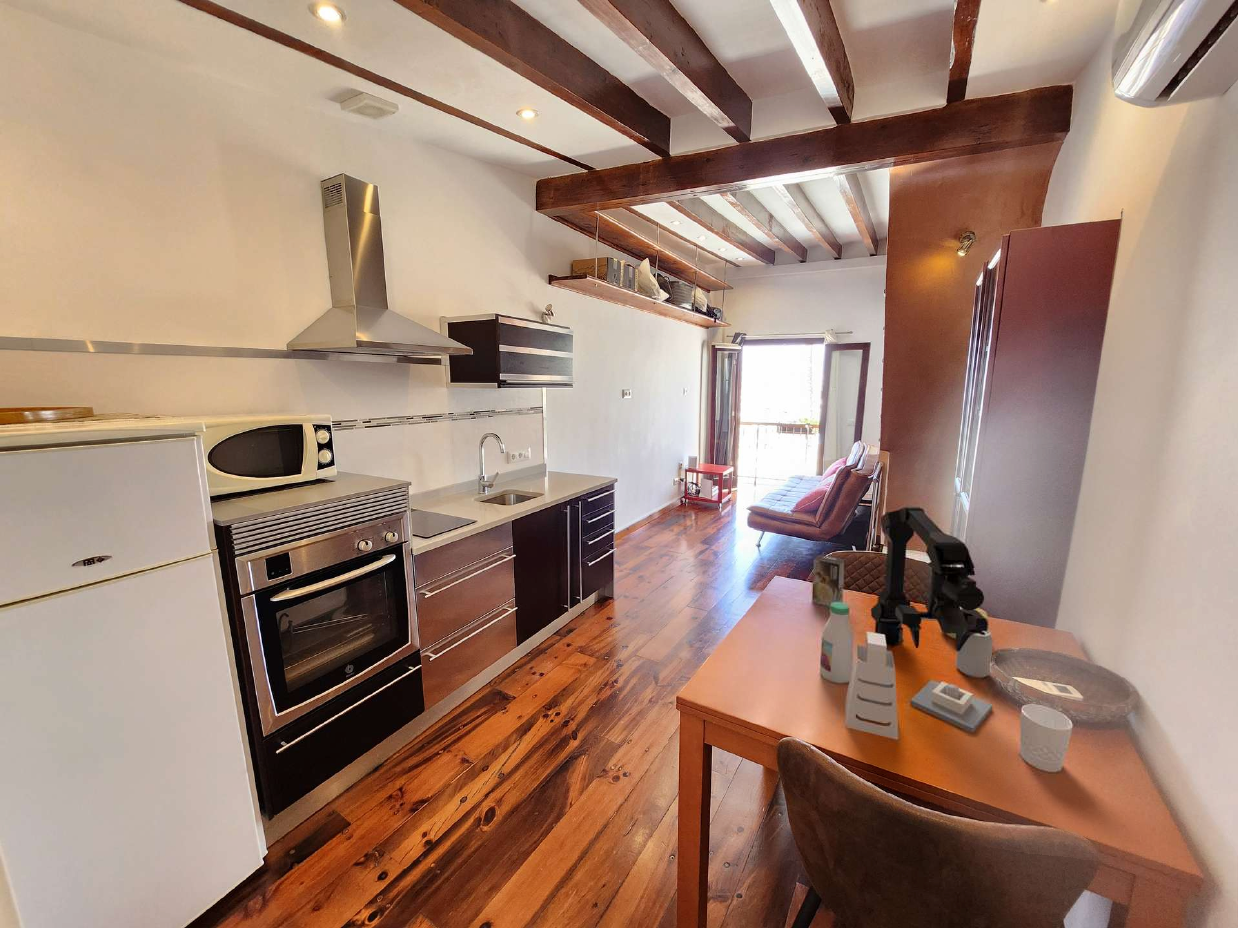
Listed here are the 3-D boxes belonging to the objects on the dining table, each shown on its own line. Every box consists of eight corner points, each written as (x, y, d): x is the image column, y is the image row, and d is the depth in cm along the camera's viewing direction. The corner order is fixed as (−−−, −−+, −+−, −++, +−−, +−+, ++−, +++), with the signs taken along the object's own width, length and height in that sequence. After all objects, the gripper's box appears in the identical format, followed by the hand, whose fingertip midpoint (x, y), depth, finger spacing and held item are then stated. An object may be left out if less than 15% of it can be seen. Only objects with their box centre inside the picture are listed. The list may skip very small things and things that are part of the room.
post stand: (909, 704, 121) (911, 684, 120) (931, 683, 129) (933, 665, 128) (972, 733, 111) (974, 711, 110) (992, 709, 119) (994, 689, 118)
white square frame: (931, 700, 120) (931, 691, 120) (941, 690, 124) (942, 681, 124) (961, 714, 115) (962, 704, 115) (971, 703, 119) (972, 693, 119)
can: (995, 680, 130) (1000, 637, 128) (963, 677, 131) (967, 635, 129) (980, 665, 137) (985, 624, 135) (950, 662, 139) (954, 621, 137)
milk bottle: (851, 671, 135) (856, 601, 132) (851, 687, 128) (856, 613, 125) (820, 665, 138) (824, 596, 135) (818, 680, 131) (822, 608, 128)
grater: (894, 710, 119) (900, 632, 115) (898, 739, 109) (905, 654, 106) (845, 700, 123) (850, 624, 120) (845, 726, 113) (851, 645, 110)
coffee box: (843, 602, 176) (846, 559, 174) (837, 609, 171) (840, 564, 169) (817, 596, 182) (819, 553, 180) (810, 602, 177) (813, 558, 175)
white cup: (1006, 747, 106) (1011, 705, 105) (1040, 745, 107) (1046, 702, 105) (1040, 776, 99) (1046, 730, 97) (1076, 773, 99) (1083, 728, 98)
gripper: (914, 602, 115) (907, 664, 118) (1005, 609, 112) (996, 671, 115) (897, 582, 126) (891, 639, 129) (980, 587, 123) (972, 645, 126)
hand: (936, 648), depth 124 cm, fingers open, 9 cm apart
